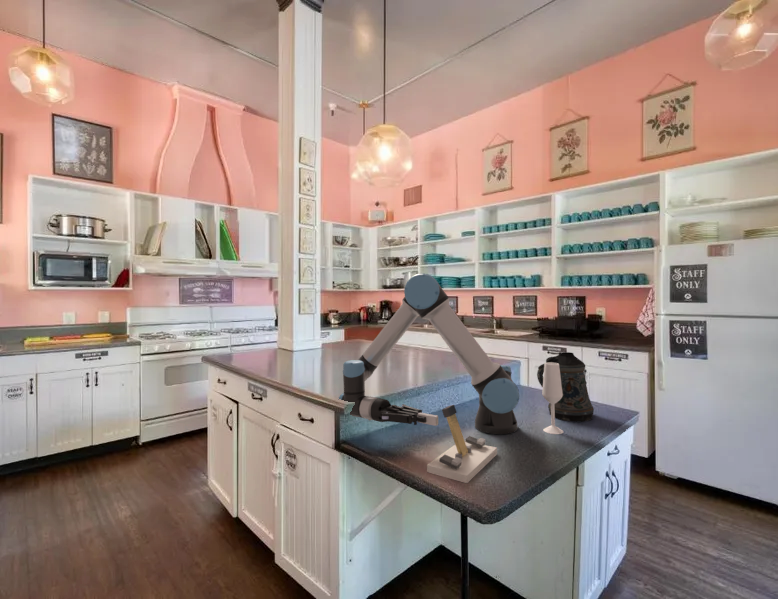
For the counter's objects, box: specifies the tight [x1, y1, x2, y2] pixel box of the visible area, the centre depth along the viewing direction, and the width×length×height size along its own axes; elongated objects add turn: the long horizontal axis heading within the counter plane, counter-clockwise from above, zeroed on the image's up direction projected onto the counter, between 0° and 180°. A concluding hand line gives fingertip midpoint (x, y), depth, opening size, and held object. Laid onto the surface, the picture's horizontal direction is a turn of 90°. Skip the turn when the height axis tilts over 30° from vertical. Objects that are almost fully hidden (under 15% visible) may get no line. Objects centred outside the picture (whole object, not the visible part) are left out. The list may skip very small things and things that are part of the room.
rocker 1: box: [439, 455, 462, 469], centre depth 106 cm, size 3×5×2 cm, turn 54°
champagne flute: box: [541, 362, 564, 435], centre depth 137 cm, size 7×7×24 cm
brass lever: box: [441, 404, 468, 457], centre depth 114 cm, size 4×2×14 cm, turn 144°
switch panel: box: [426, 442, 498, 484], centre depth 113 cm, size 22×12×4 cm, turn 144°
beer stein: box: [536, 351, 595, 423], centre depth 154 cm, size 16×19×25 cm
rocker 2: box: [464, 435, 486, 448], centre depth 120 cm, size 3×5×2 cm, turn 54°
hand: (437, 420), depth 118 cm, fingers closed
